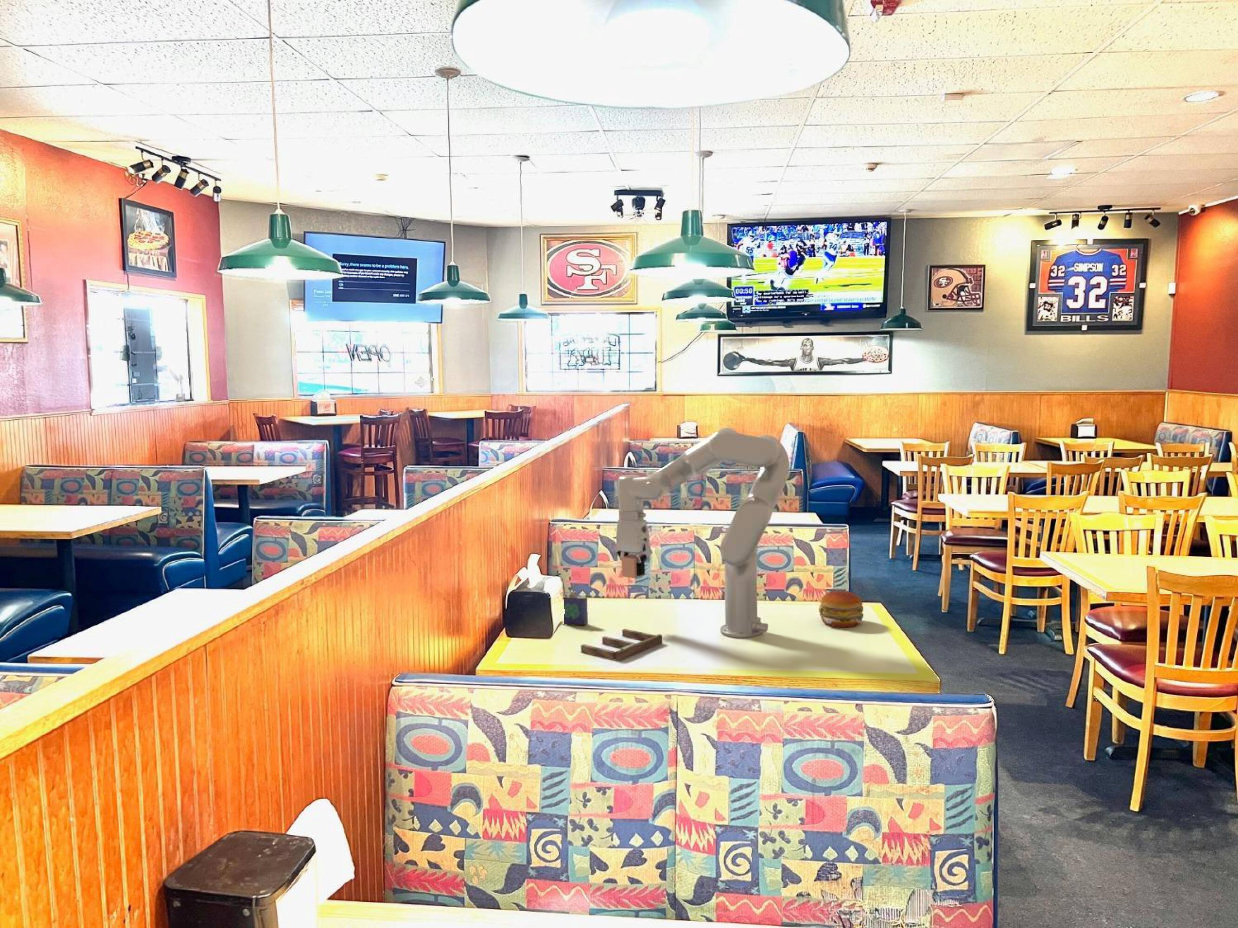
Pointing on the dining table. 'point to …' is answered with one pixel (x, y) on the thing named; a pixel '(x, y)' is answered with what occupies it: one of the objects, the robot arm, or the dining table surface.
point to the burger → (841, 609)
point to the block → (629, 566)
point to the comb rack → (624, 645)
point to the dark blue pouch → (575, 610)
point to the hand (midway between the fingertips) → (633, 573)
